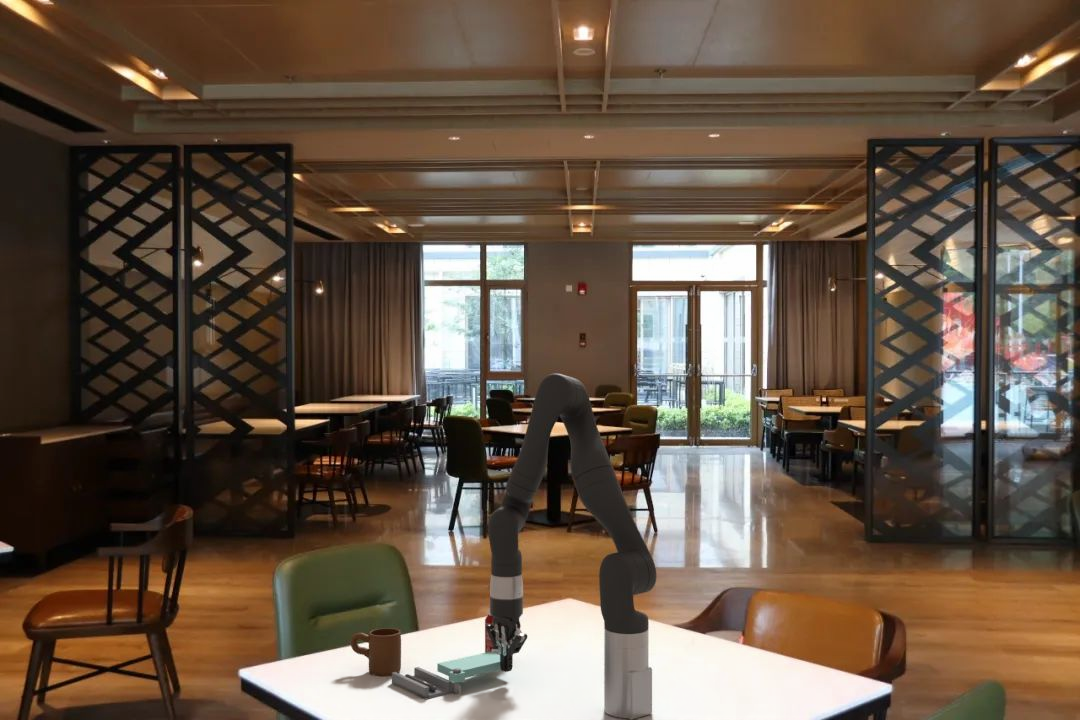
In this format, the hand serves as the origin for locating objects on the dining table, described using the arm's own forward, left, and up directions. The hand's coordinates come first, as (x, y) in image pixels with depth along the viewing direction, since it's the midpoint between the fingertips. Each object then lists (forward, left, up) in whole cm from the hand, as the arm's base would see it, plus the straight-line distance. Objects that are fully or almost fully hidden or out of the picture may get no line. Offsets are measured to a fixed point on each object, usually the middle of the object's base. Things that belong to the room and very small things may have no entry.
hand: (506, 670), depth 219 cm
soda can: (+15, -9, -3) cm, 18 cm away
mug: (+27, +18, -3) cm, 33 cm away
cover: (+6, +5, 0) cm, 8 cm away
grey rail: (+9, +16, -3) cm, 18 cm away
